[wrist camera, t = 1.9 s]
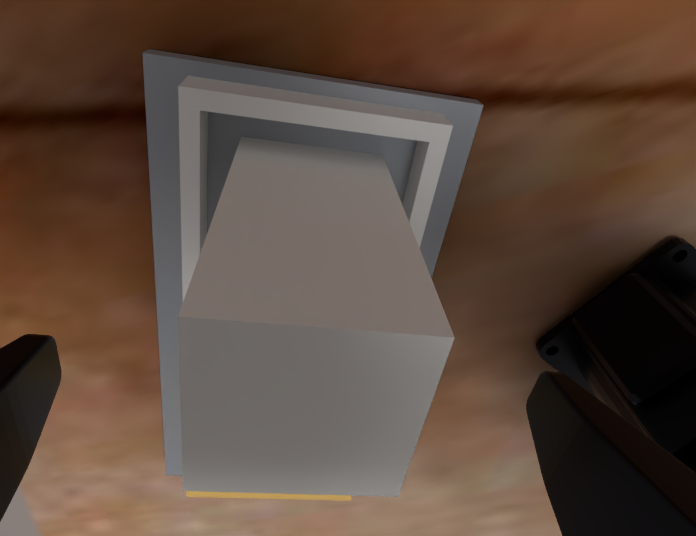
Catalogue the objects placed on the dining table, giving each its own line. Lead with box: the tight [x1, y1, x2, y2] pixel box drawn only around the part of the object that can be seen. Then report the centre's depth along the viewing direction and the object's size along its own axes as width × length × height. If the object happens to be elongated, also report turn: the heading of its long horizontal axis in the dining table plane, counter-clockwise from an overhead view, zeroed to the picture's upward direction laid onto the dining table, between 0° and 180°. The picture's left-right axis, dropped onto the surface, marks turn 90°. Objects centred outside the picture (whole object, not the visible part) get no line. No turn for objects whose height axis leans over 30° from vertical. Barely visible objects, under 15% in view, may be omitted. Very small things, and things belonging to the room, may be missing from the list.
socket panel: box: [143, 49, 483, 501], centre depth 17 cm, size 17×9×2 cm, turn 171°
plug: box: [178, 137, 455, 497], centre depth 12 cm, size 5×4×8 cm
